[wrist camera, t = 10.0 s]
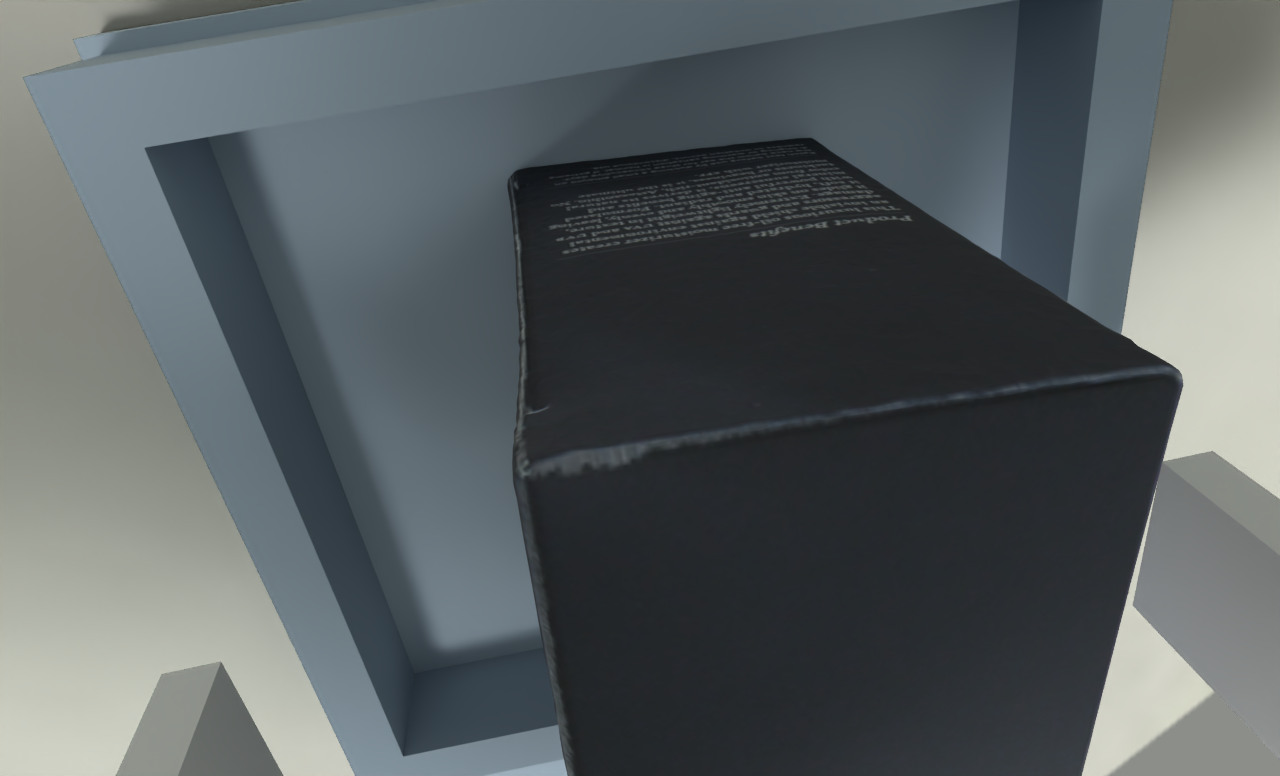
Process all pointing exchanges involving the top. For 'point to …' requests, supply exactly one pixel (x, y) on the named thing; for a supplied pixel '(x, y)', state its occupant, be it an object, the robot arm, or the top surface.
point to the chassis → (486, 266)
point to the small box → (815, 475)
